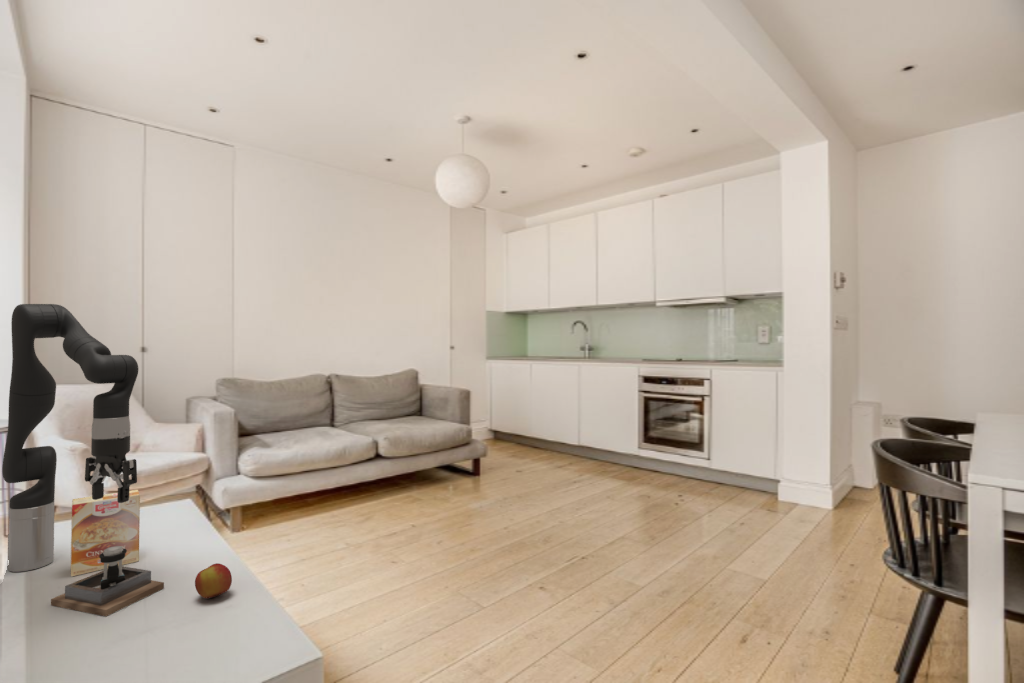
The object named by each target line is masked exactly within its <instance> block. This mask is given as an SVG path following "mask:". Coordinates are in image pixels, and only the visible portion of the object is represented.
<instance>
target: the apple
mask: <svg viewBox="0 0 1024 683" xmlns="http://www.w3.org/2000/svg"><path fill="white" fill-rule="evenodd" d="M232 582H233V576H232V572H231V571H230V569H229V568H228V566H226V565H224V564H222V563H213V564H211V565H209V566H208V567H207V568H206V567H205V568H204V569H202V570H201V571H199V572H198V573H197V575H196V576H195V580H194V586H195V591H196V593H197V594H198V595H199V596H200V597H201V598H202V599H213V598H215V597H219V596H221V595H223V594H224V593H226V592H228V591H229V590H230V589H231V586H232Z"/></svg>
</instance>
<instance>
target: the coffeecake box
mask: <svg viewBox="0 0 1024 683" xmlns="http://www.w3.org/2000/svg"><path fill="white" fill-rule="evenodd" d="M140 509H141V495H140V491H139V489H133V490H129V500H128V501H126V502H123V503H118V492H112V493H105V494H104V496H103V498H101V499H97V500H93V499H92V495H91V496H86V497H77V498H72V501H71V523H70V524H71V528H70V529H71V530H70V531H71V533H70V534H71V537H70V577H71V578H72V577H75V576H80V575H84V574H88V573H93V572H98V571H103V570H104V563H102V562H101V558H99V555H100V554H101V553H103V552H104V550H105V549H107V548H110V547H114V546H122V549H126V550H127V552H126V553H125V557H124V558H123V559H122V566H124V565H128V564H134V563H137V562H139V560H140V527H141V526H140V524H141V522H140V519H141V517H140V514H141V510H140ZM117 563H118V566H119V562H117ZM108 566H109V564H107V569H108Z"/></svg>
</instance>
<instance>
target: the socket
mask: <svg viewBox="0 0 1024 683" xmlns="http://www.w3.org/2000/svg"><path fill="white" fill-rule="evenodd" d="M122 573H123V575H124V576H125V580H124V581H122V582H120V583H117V584H115V585H113V586H111V587H108V588H106V589H104V590H102V589H96V588H93V587H97V586H100V585H101V580H102V578H103V577H104V570H100V572H97V573H94V574H92V575H89V576H87V577H85V578H82V579H79V580H77V581H74V582H72V583H70V584H67V585H64V593H65V599H69V600H74V601H79V602H84V603H89V604H95V605H100V606H102V605H104V604H106V603H108V602H111V601H113V600H115V599H117V598H119V597H121V596H123V595H126V594H128V593H130V592H132V591H134V590H136V589H139V588H141V587H143V586H145V585H147V584H149V583H151V580H152V571H151V570H148V569H147V570H146V569H141V568H135V567H129V566H124V565H122ZM118 575H119V566H118ZM107 579H108V568H107Z"/></svg>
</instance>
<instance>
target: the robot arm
mask: <svg viewBox="0 0 1024 683" xmlns="http://www.w3.org/2000/svg"><path fill="white" fill-rule="evenodd" d="M10 324H11V348H12V354H11V356H12V357H11V358H12V362H11V364H12V365H11V376H10V384H9V395H8V420H7V435H6V440H5V447H4V452H3V453H4V454H3V459H2V466H1V467H2V469H1V470H2V471H1V472H2V473H1V474H2V478H3V480H4V482H6V483H8V484H17V483H25V482H31V481H37V482H36V483H35V484H33V485H32V486H30V488H28V489H25V490H24V491H21V492H18V493H16V494H14V495H12V496H11V497H10V498H9V512H8V513H9V514H8V515H9V519H8V520H9V524H8V525H9V526H8V527H9V528H8V529H9V530H8V531H9V532H8V534H7V561H8V560H9V565H8V564H7V568H8V571H10V572H12V573H13V572H14V573H18V572H20V573H21V572H27V571H31V570H35V569H36V570H37V569H39V568H43V567H46V566H48V565H50V564H52V563H53V562H54V560H55V559H54V558H55V556H54V555H55V494H56V493H55V492H56V491H55V490H56V472H57V471H56V470H57V461H58V460H57V458H58V457H57V452H56V449H55V448H54V446H51V445H44V446H33V447H25V448H23V447H24V445H25V443H26V441H27V439H28V438H29V436H30V434H31V433H32V432H33V431H34V429H36V427H38V426H39V424H41V422H42V421H43V420H44V419H45V418H46V417H47V416H48V415H49V414H50V412H51V411H52V410H53V409H54V407H55V402H56V391H57V382H56V380H55V377H54V376H53V375H52V374H51V372H50V371H49V370H48V369H47V368H46V367H45V365H43V363H42V362H41V361H40V360H39V357H38V356H37V353H36V349H35V339H49V338H50V339H52V338H58V337H59V338H63V340H62V350H63V352H64V354H65V355H66V356H67V357H68V359H69V358H70V359H71V360H72V361H74V362H75V363H76V364H78V365H79V367H80V369H81V371H82V374H84V377H85V380H87V381H89V382H91V383H92V384H99V385H100V384H101V385H105V384H113V386H112V387H111V389H110V390H108V391H106V392H102V393H99V394H97V395H95V396H94V398H93V403H92V404H93V405H92V406H93V407H92V411H93V412H92V425H91V444H90V445H91V446H90V447H91V449H90V450H91V452H90V454H91V457H89V456H88V457H86V459H85V467H84V468H85V470H84V471H85V472H84V481H85V482H89V484H90V485H91V496H92V499H93V500H97V499H101V498H103V496H104V493H105V492H104V491H105V490H104V489H105V486H104V484H105V483H104V481H105V479H106V478H107V477H108V478H111V480H112V481H114V482H115V483H116V485H117V493H118V503H123V502H126V501H128V500H129V491H130V487H131V485H134V484H137V483H138V474H137V472H138V470H137V469H138V468H137V459H135V458H134V459H133V458H132V459H127V457H126V456H127V454H128V453H129V452H131V421H130V400H131V396H132V392H133V389H134V387H135V385H136V381H137V377H138V375H139V365H138V361H137V360H136V359H135V357H133V356H131V355H128V354H112V353H111V350H110V349H109V348H108V347H107V345H105V344H104V343H102V342H101V341H99V340H98V339H97V338H95V337H93V336H92V335H91V334H90V333H89V332H88V331H87V330H86V329H85V327H83V326H82V324H81V323H80V322H79V321H78V319H77V318H76V317H75V316H74V315H73V313H72V312H71V311H69V309H67V308H66V307H65V306H63V305H61V304H55V303H22V304H18V305H16V306H15V307H14V309H13V311H12V314H11V323H10ZM92 472H93V473H92ZM91 473H92V474H91ZM130 475H131V476H130ZM130 477H131V478H130ZM122 480H123V481H122Z"/></svg>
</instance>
